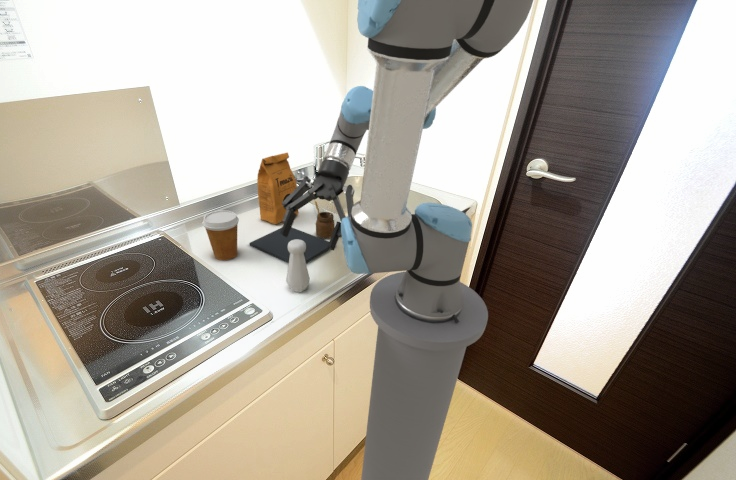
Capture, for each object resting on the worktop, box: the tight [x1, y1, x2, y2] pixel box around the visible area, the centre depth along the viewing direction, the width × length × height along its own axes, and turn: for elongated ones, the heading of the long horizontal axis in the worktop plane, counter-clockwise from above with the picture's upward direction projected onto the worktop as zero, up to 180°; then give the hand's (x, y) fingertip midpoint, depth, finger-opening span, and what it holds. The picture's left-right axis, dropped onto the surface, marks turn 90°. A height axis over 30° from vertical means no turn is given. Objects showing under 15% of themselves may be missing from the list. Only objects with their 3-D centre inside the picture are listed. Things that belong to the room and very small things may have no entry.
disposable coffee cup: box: [201, 209, 240, 261], centre depth 102 cm, size 10×10×12 cm
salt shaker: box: [285, 239, 311, 293], centre depth 89 cm, size 6×6×13 cm
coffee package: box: [256, 152, 299, 225], centre depth 121 cm, size 10×12×22 cm
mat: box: [249, 226, 331, 265], centre depth 110 cm, size 20×16×1 cm
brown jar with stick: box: [314, 200, 336, 240], centre depth 114 cm, size 6×6×12 cm
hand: (306, 241), depth 90 cm, fingers open, 13 cm apart
